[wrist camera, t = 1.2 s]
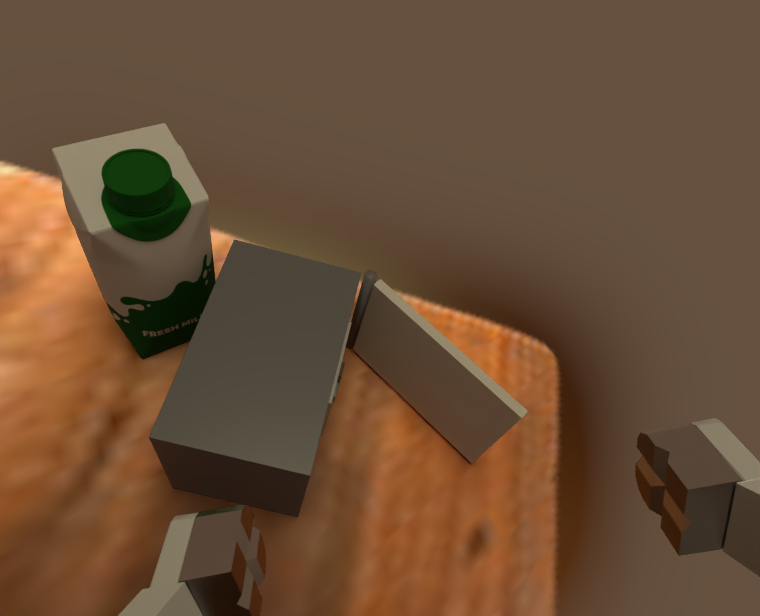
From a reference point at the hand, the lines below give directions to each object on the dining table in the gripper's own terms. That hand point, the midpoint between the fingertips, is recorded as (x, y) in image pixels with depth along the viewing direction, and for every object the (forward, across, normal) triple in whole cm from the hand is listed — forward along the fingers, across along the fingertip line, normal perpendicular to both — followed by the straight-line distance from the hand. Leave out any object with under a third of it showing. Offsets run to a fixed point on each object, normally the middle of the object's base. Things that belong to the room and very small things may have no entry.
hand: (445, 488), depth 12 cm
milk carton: (+38, +21, +13) cm, 45 cm away
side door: (+32, 0, +23) cm, 40 cm away
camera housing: (+31, +12, +20) cm, 39 cm away
